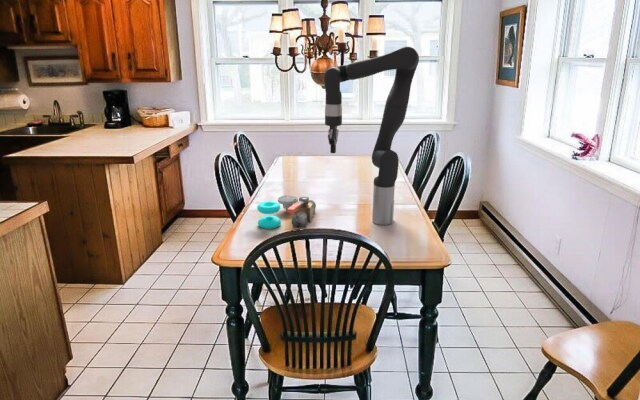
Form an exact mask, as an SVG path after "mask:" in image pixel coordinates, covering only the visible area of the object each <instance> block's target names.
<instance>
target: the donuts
mask: <svg viewBox="0 0 640 400" xmlns="http://www.w3.org/2000/svg"><path fill="white" fill-rule="evenodd" d="M256 209H257V211H258V212H259V213H260V214H263V215H264V216H262V217H260V218H259V219H258V221H257V225H258V227H260V228H262V229H265V230H267V229H269V230H271V229H276V228H278V227H280V226H281V223H282V221H281V218H279V217H278V216H275V215H273V214H275V213H278V212H279V211H280V209H281V203H279V202H278V201H271V200H270V201H267V200H266V201H262V202H260V203H258V204H257V207H256Z"/></svg>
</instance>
